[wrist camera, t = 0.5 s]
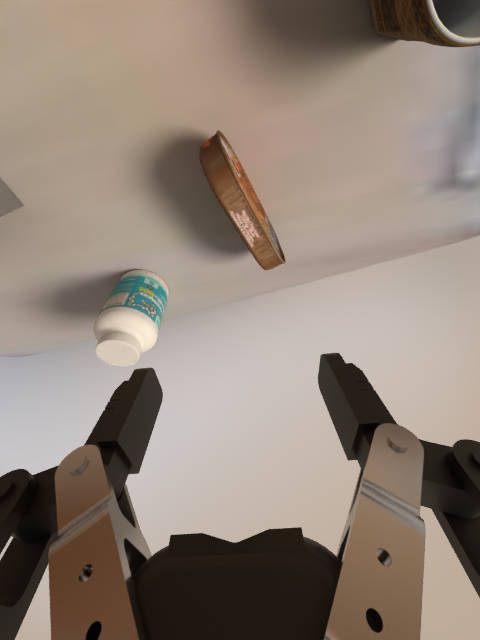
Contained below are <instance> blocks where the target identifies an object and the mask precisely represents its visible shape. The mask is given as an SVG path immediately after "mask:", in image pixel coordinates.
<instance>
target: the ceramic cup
mask: <svg viewBox="0 0 480 640" xmlns="http://www.w3.org/2000/svg"><path fill="white" fill-rule="evenodd" d="M369 2H370V7H371V12H372V17H373V22H374V27H375V31H376V32H377V33H379V34H382V35H385V36H389V37H392V38H396V39H400V40H406V41H423V42H426V43H429V44H433V45H439V46H447V47H470V46H477V45H480V0H369Z"/></svg>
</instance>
